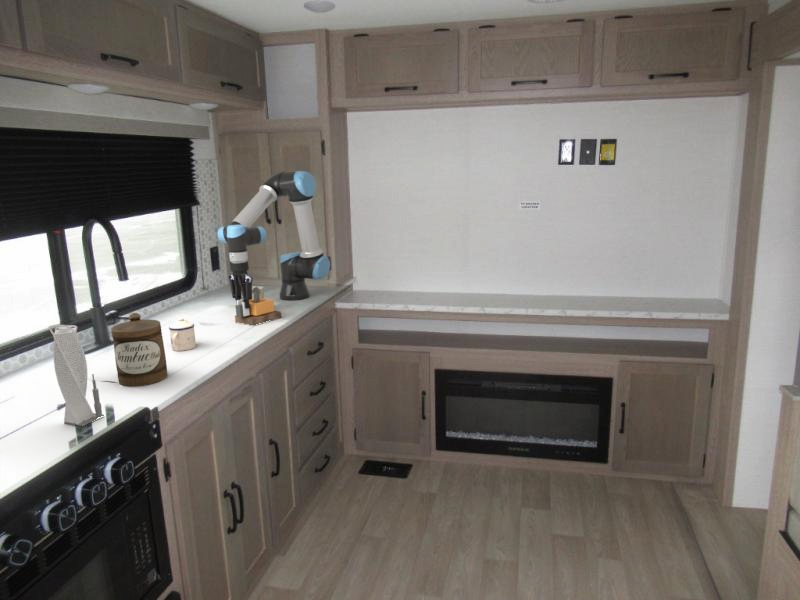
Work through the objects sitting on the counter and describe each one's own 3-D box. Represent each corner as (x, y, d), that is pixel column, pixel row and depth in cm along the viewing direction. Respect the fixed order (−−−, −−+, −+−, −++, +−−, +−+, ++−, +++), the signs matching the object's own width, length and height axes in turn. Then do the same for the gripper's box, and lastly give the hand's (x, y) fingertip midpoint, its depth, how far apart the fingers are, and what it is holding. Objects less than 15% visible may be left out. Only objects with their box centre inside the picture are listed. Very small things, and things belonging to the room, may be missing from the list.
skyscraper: (78, 429, 157) (61, 327, 150) (56, 425, 160) (39, 324, 153) (104, 416, 164) (89, 318, 158) (83, 412, 167) (67, 316, 161)
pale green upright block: (268, 309, 282) (266, 285, 280) (262, 314, 274) (259, 289, 271) (249, 309, 283) (247, 285, 281) (242, 314, 275) (240, 289, 272)
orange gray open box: (259, 308, 270) (258, 297, 269) (274, 311, 264) (273, 300, 263) (231, 315, 258) (230, 304, 257) (246, 318, 252) (245, 307, 251)
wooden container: (115, 389, 185) (105, 321, 180) (122, 374, 199) (113, 310, 194) (165, 383, 189) (157, 316, 184) (169, 368, 203) (161, 306, 198)
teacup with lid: (177, 344, 231) (174, 315, 228) (200, 344, 230) (197, 315, 227) (163, 354, 219) (159, 323, 216) (187, 353, 218) (184, 323, 216)
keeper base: (263, 314, 274) (261, 283, 270) (281, 317, 266) (278, 285, 263) (235, 322, 261) (232, 289, 258) (253, 326, 254) (250, 292, 251)
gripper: (219, 261, 254) (225, 314, 259) (243, 264, 244) (248, 319, 249) (234, 258, 259) (239, 311, 265) (258, 261, 250) (262, 315, 255)
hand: (243, 314), depth 257 cm, fingers closed on orange gray open box, 3 cm apart
